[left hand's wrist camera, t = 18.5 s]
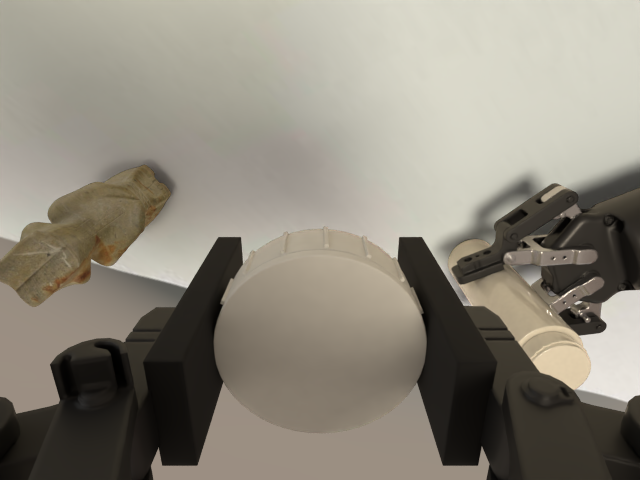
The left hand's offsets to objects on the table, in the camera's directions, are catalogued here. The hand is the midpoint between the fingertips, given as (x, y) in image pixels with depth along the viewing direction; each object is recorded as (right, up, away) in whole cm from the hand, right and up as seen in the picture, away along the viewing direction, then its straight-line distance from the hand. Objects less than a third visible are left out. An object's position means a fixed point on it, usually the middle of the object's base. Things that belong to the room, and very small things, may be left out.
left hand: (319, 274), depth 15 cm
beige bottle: (+15, -1, +27) cm, 31 cm away
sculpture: (-17, +5, +25) cm, 30 cm away
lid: (0, -2, -4) cm, 4 cm away
